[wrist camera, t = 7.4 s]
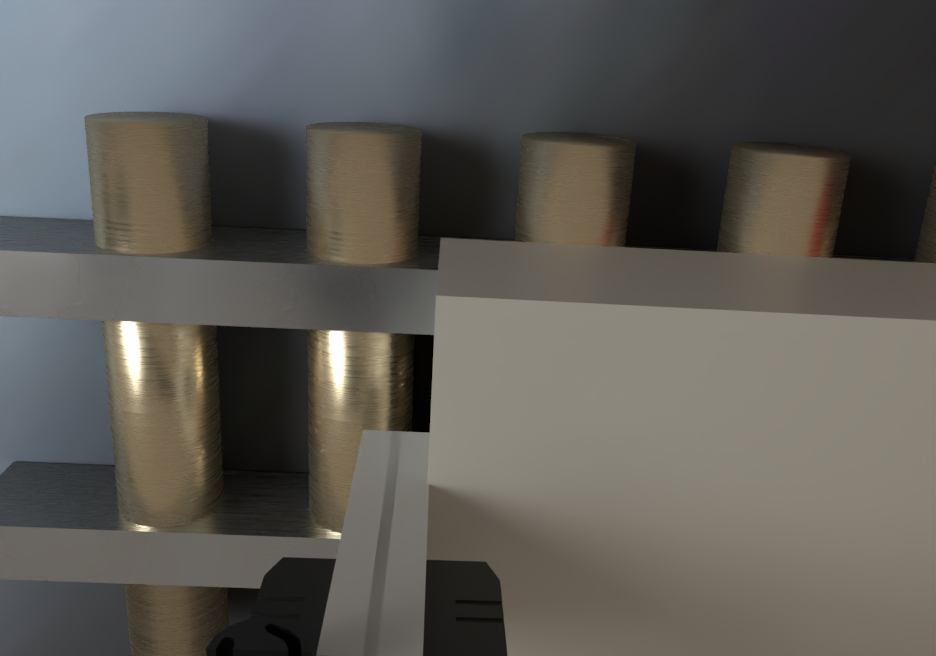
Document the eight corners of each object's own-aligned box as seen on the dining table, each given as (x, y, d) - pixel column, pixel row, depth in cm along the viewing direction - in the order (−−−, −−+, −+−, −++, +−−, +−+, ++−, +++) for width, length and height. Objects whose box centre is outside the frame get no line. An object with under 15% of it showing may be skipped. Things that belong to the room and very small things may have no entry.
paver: (440, 237, 18) (435, 295, 14) (1024, 268, 18) (1171, 332, 15) (423, 613, 21) (415, 743, 17) (927, 633, 21) (1028, 766, 18)
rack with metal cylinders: (-36, 77, 20) (-191, 95, 15) (1158, 137, 21) (1367, 173, 16) (32, 609, 24) (-71, 752, 20) (1008, 644, 25) (1135, 789, 20)
